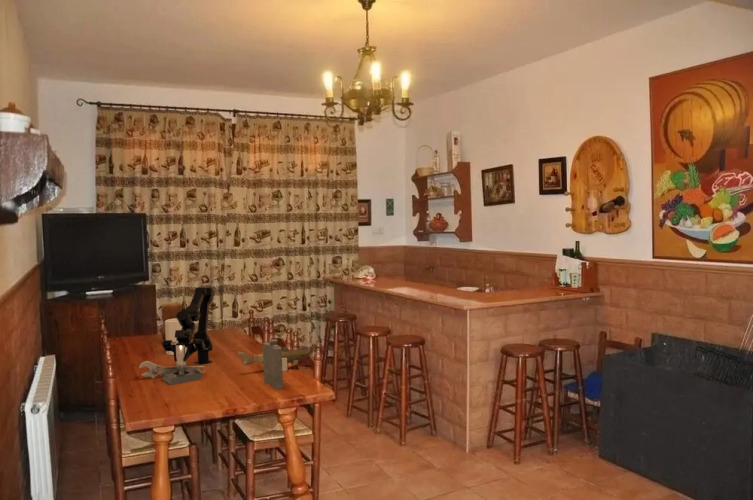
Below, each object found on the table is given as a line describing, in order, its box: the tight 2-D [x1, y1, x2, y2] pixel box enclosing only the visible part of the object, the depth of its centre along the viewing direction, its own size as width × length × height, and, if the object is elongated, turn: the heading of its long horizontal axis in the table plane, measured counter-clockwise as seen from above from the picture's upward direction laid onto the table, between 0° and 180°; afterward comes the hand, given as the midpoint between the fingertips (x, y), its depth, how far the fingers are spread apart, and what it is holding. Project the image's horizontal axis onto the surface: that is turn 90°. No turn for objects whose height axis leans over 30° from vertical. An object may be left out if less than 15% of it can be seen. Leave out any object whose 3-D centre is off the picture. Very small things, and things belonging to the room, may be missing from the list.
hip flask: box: [262, 338, 284, 390], centre depth 260 cm, size 16×4×20 cm, turn 33°
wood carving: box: [237, 346, 311, 372], centre depth 285 cm, size 9×35×11 cm, turn 114°
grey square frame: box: [161, 368, 202, 386], centre depth 272 cm, size 12×14×3 cm
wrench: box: [138, 360, 207, 379], centre depth 280 cm, size 8×2×30 cm
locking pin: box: [175, 344, 187, 375], centre depth 272 cm, size 4×4×14 cm
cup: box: [165, 318, 187, 356], centre depth 327 cm, size 11×11×18 cm
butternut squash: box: [161, 301, 183, 341], centre depth 354 cm, size 14×13×25 cm
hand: (179, 361), depth 271 cm, fingers closed on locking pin, 4 cm apart
